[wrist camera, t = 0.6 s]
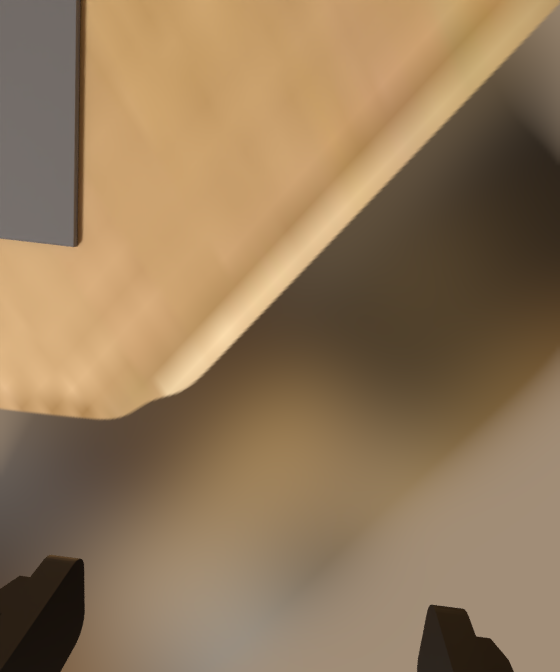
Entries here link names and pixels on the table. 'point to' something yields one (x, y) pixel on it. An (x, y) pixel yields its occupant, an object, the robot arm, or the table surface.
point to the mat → (39, 120)
